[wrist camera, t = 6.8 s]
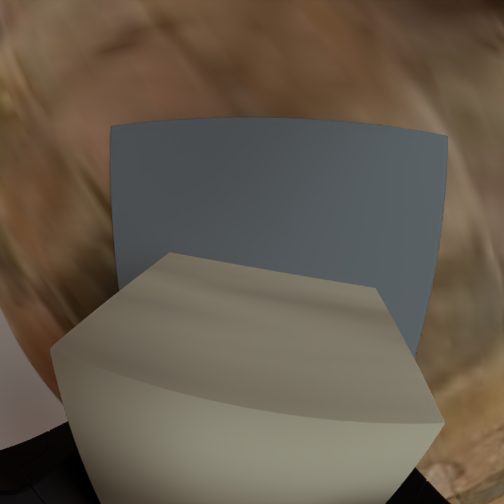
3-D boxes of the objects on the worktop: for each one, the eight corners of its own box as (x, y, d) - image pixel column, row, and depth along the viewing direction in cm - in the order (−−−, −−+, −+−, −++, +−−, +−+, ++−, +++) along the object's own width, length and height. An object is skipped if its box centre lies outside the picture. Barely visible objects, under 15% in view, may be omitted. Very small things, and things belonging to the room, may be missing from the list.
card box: (306, 472, 10) (300, 581, 6) (168, 445, 11) (122, 545, 6) (375, 288, 8) (445, 422, 3) (169, 252, 9) (49, 348, 4)
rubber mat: (443, 136, 14) (447, 136, 14) (392, 412, 19) (393, 418, 19) (116, 126, 16) (110, 126, 16) (141, 392, 21) (138, 396, 21)
